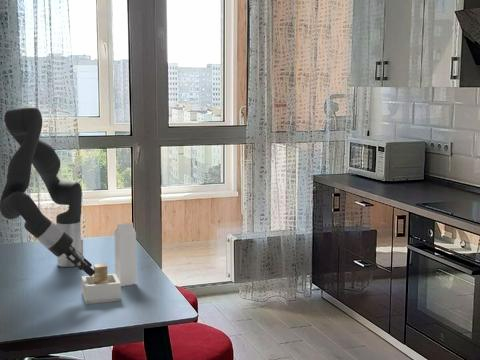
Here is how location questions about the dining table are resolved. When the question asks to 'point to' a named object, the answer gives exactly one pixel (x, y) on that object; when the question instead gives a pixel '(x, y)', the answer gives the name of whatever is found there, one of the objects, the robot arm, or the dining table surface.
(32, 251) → the dining table surface
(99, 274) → the beech post
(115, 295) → the white well
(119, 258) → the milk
